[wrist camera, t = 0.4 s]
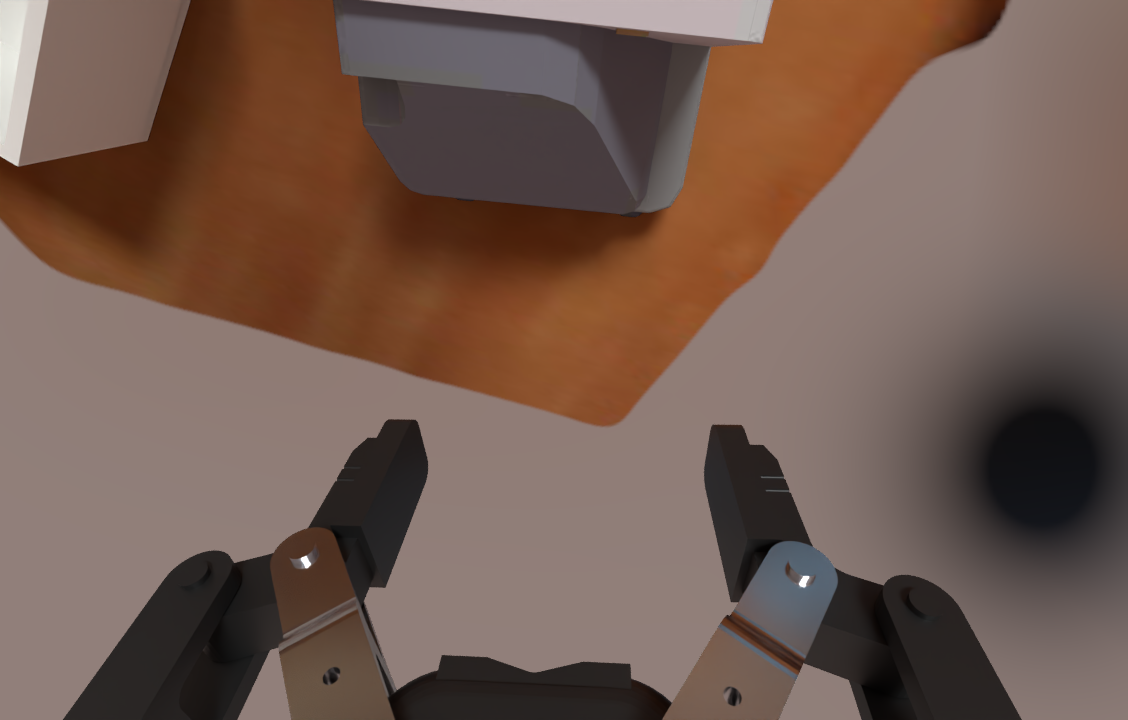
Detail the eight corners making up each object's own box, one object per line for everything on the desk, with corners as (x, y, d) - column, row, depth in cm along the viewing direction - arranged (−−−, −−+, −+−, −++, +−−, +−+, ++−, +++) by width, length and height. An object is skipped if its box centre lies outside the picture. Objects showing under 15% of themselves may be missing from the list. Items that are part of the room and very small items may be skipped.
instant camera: (767, -86, 30) (909, -192, 17) (650, 243, 40) (683, 332, 28) (409, -209, 28) (260, -439, 15) (384, 173, 38) (285, 234, 25)
